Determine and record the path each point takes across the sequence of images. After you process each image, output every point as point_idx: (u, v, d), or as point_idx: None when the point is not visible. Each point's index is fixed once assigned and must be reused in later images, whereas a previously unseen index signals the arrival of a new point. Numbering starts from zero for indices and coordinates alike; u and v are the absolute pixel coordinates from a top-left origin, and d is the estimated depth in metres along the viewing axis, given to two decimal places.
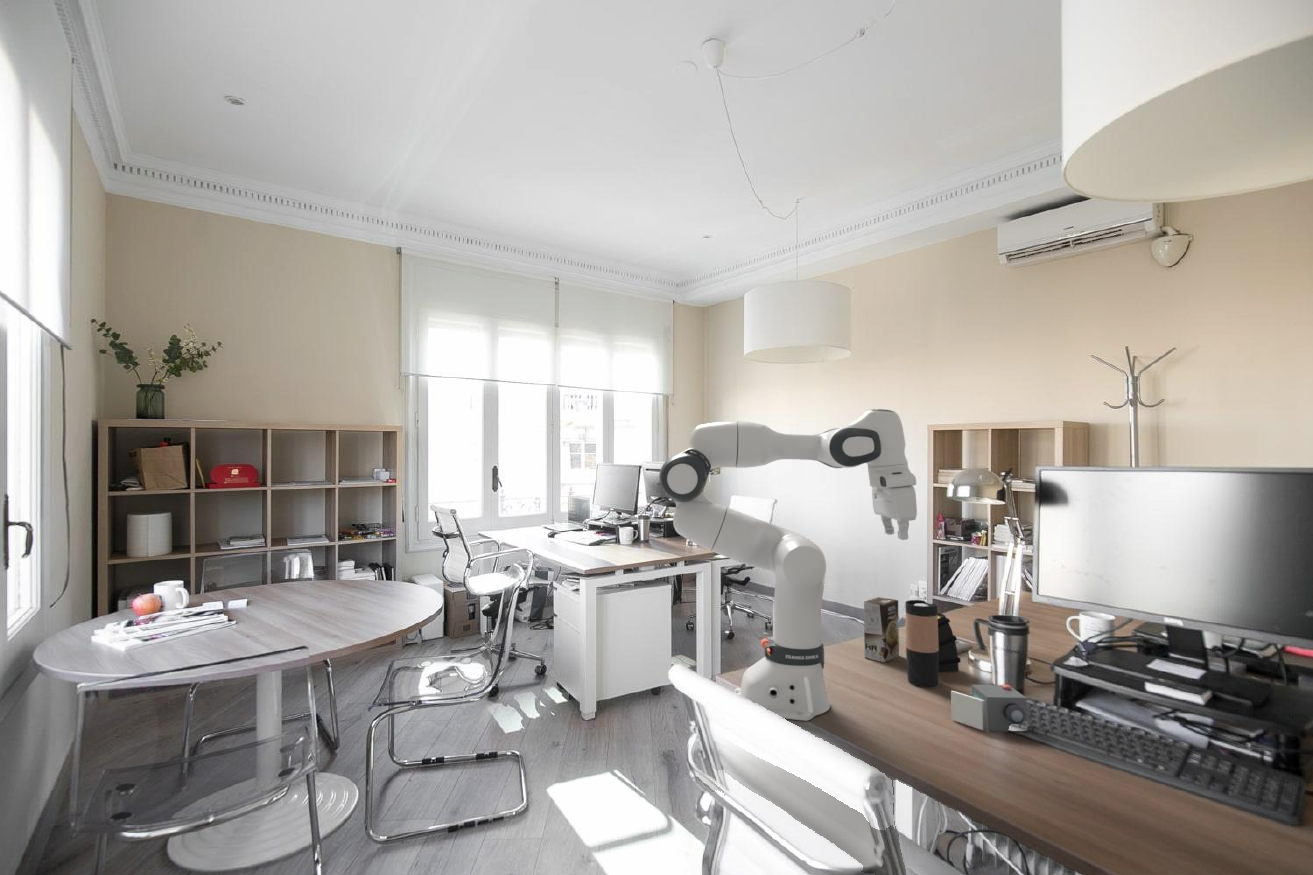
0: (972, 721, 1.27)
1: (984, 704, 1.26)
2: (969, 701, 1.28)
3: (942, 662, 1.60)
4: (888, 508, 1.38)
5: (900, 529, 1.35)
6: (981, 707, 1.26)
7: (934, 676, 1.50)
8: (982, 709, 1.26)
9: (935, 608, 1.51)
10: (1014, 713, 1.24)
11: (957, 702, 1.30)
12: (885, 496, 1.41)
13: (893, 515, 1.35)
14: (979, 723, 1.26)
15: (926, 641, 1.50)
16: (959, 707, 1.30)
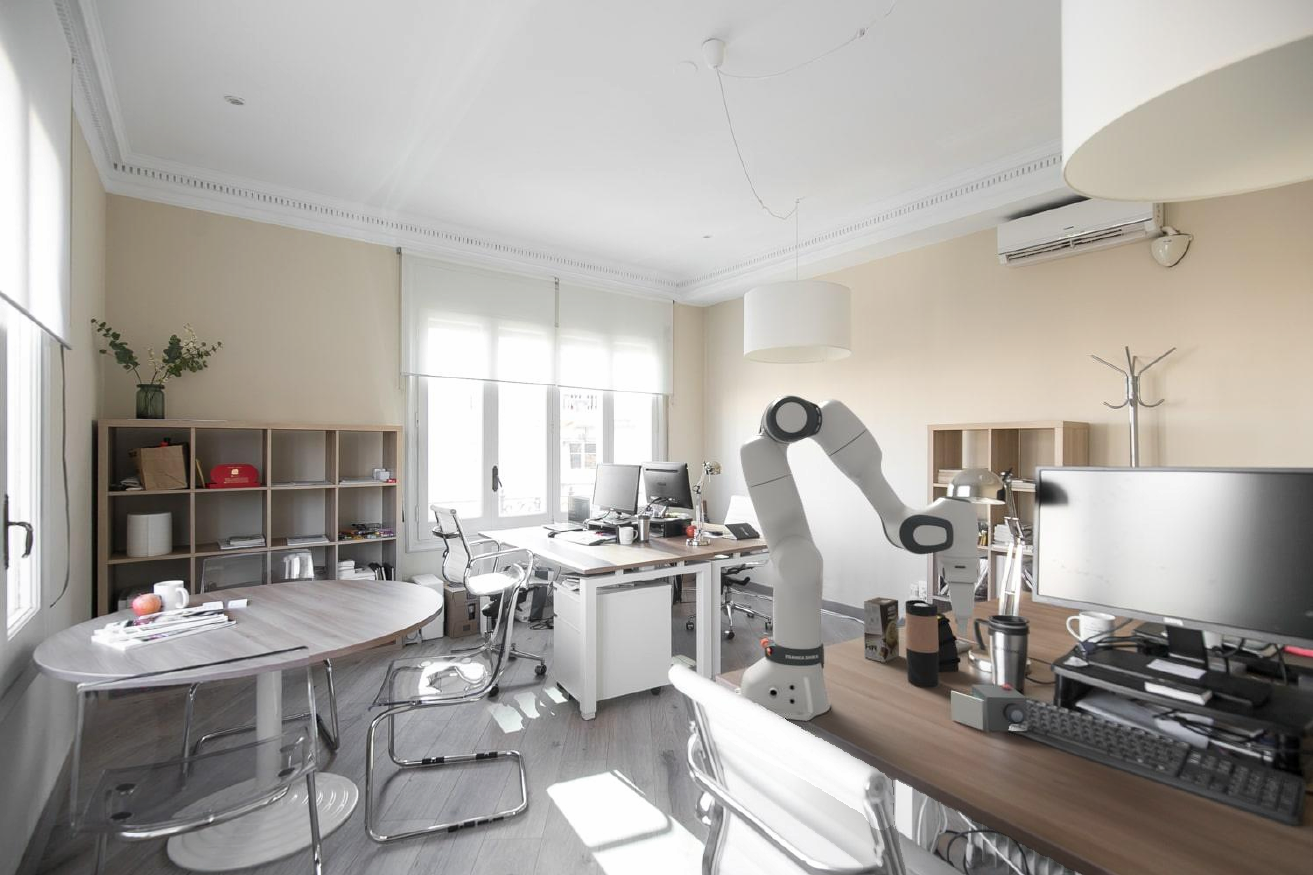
0: (972, 721, 1.27)
1: (984, 704, 1.26)
2: (969, 701, 1.28)
3: (942, 662, 1.60)
4: None
5: (958, 624, 1.32)
6: (981, 707, 1.26)
7: (934, 676, 1.50)
8: (982, 709, 1.26)
9: (935, 608, 1.51)
10: (1014, 713, 1.24)
11: (957, 702, 1.30)
12: None
13: None
14: (979, 723, 1.26)
15: (926, 641, 1.50)
16: (959, 707, 1.30)
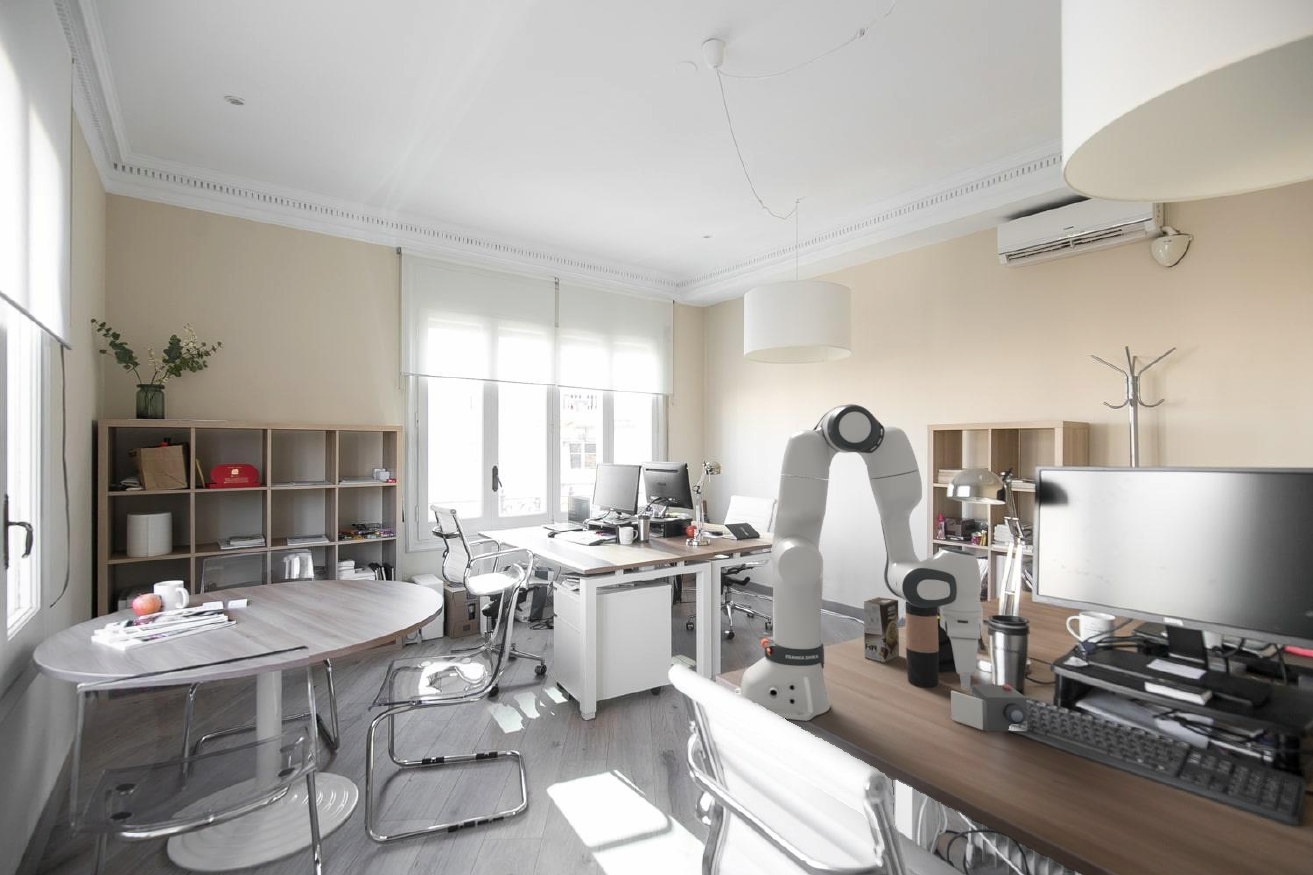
0: (972, 721, 1.27)
1: (984, 704, 1.26)
2: (969, 701, 1.28)
3: (942, 662, 1.60)
4: None
5: (961, 679, 1.32)
6: (981, 707, 1.26)
7: (934, 676, 1.50)
8: (982, 709, 1.26)
9: (935, 608, 1.51)
10: (1014, 713, 1.24)
11: (957, 702, 1.30)
12: None
13: None
14: (979, 723, 1.26)
15: (926, 641, 1.50)
16: (959, 707, 1.30)
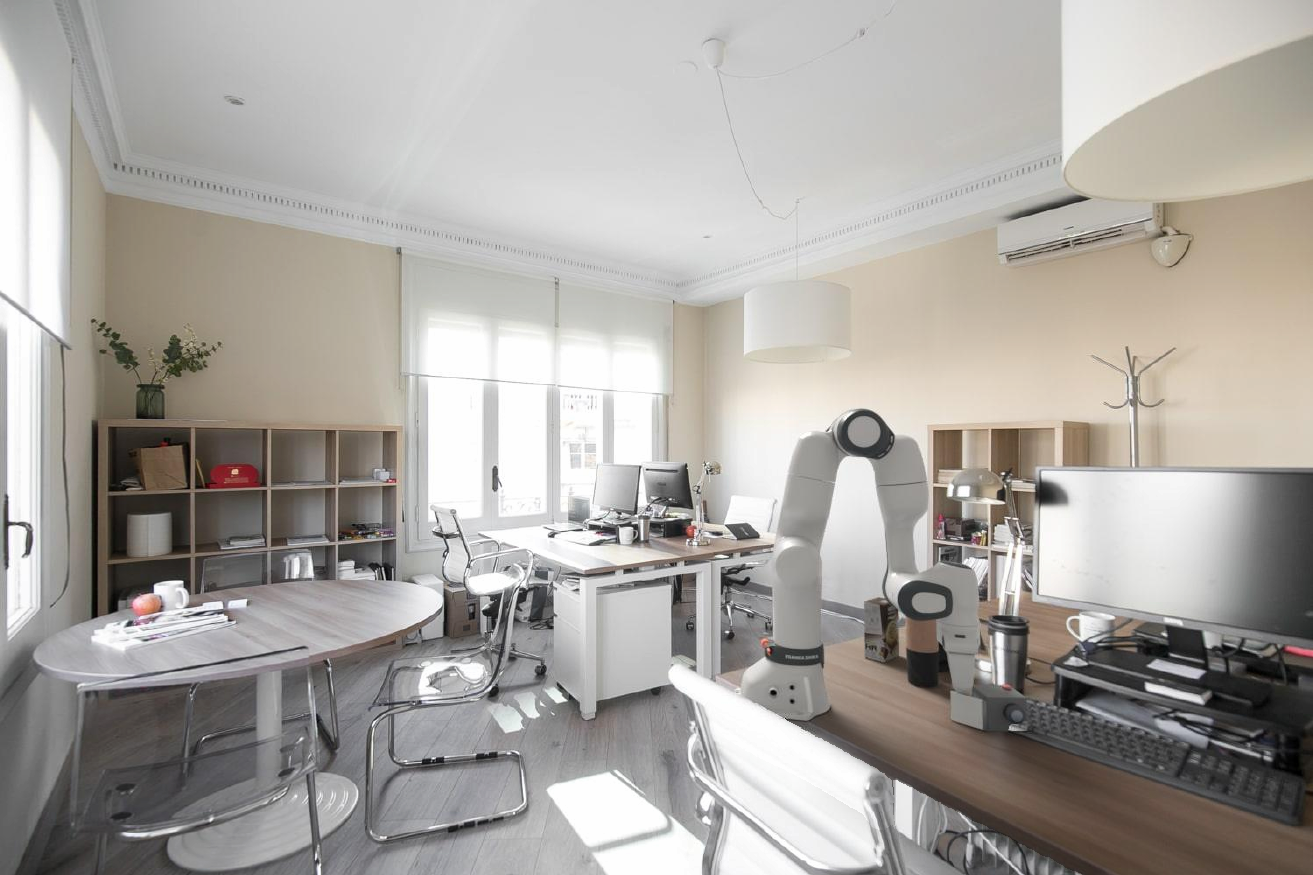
0: (972, 721, 1.27)
1: (984, 704, 1.26)
2: (969, 702, 1.28)
3: (942, 662, 1.60)
4: None
5: None
6: (981, 707, 1.26)
7: (934, 676, 1.50)
8: (982, 709, 1.26)
9: None
10: (1014, 713, 1.24)
11: (957, 702, 1.30)
12: None
13: None
14: (979, 723, 1.26)
15: (926, 641, 1.50)
16: (958, 708, 1.30)
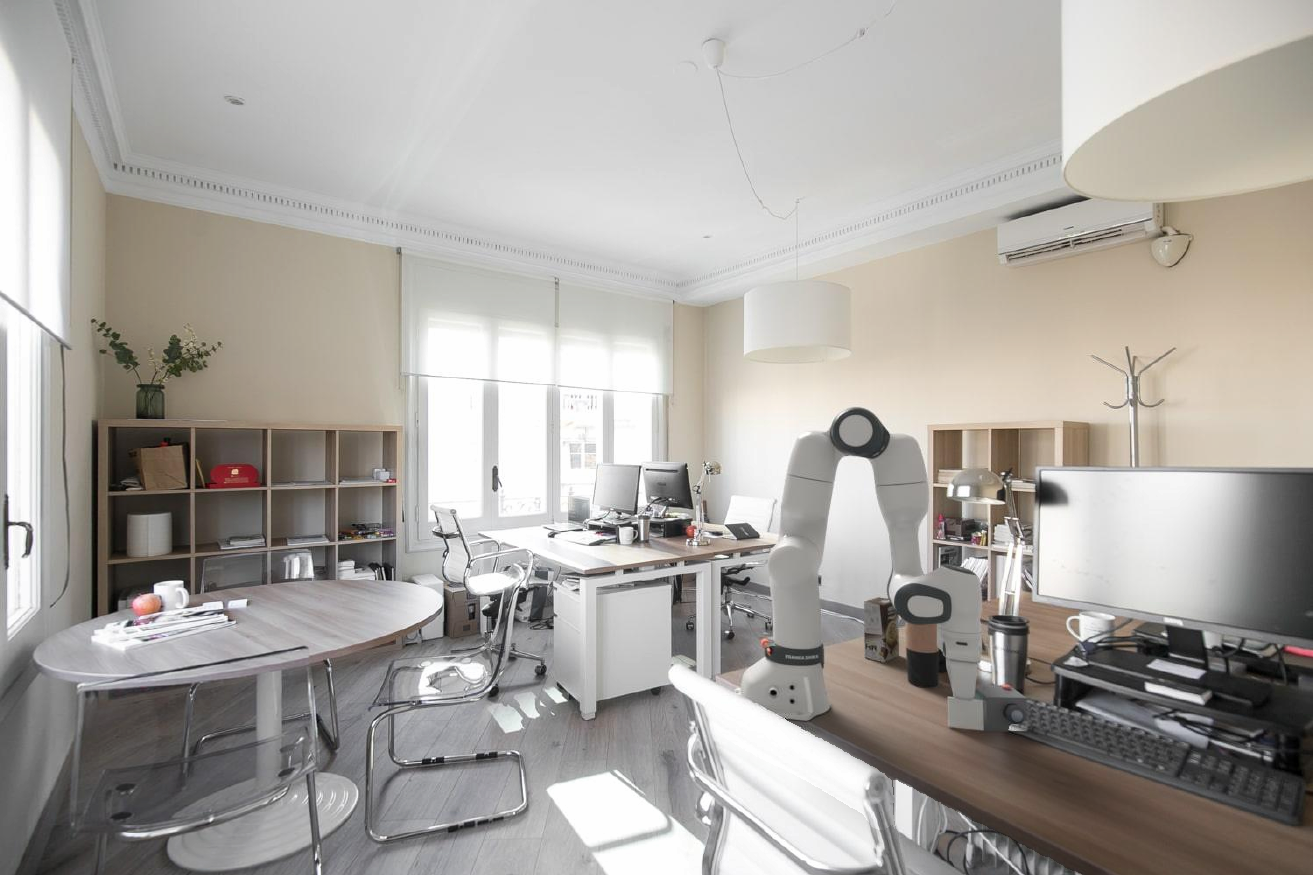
0: (972, 724, 1.26)
1: (985, 704, 1.26)
2: (969, 704, 1.26)
3: (942, 662, 1.60)
4: (950, 676, 1.29)
5: None
6: (982, 708, 1.26)
7: (934, 676, 1.50)
8: (982, 710, 1.26)
9: None
10: (1014, 713, 1.24)
11: (955, 707, 1.27)
12: None
13: None
14: (979, 725, 1.26)
15: (926, 641, 1.50)
16: (957, 712, 1.27)
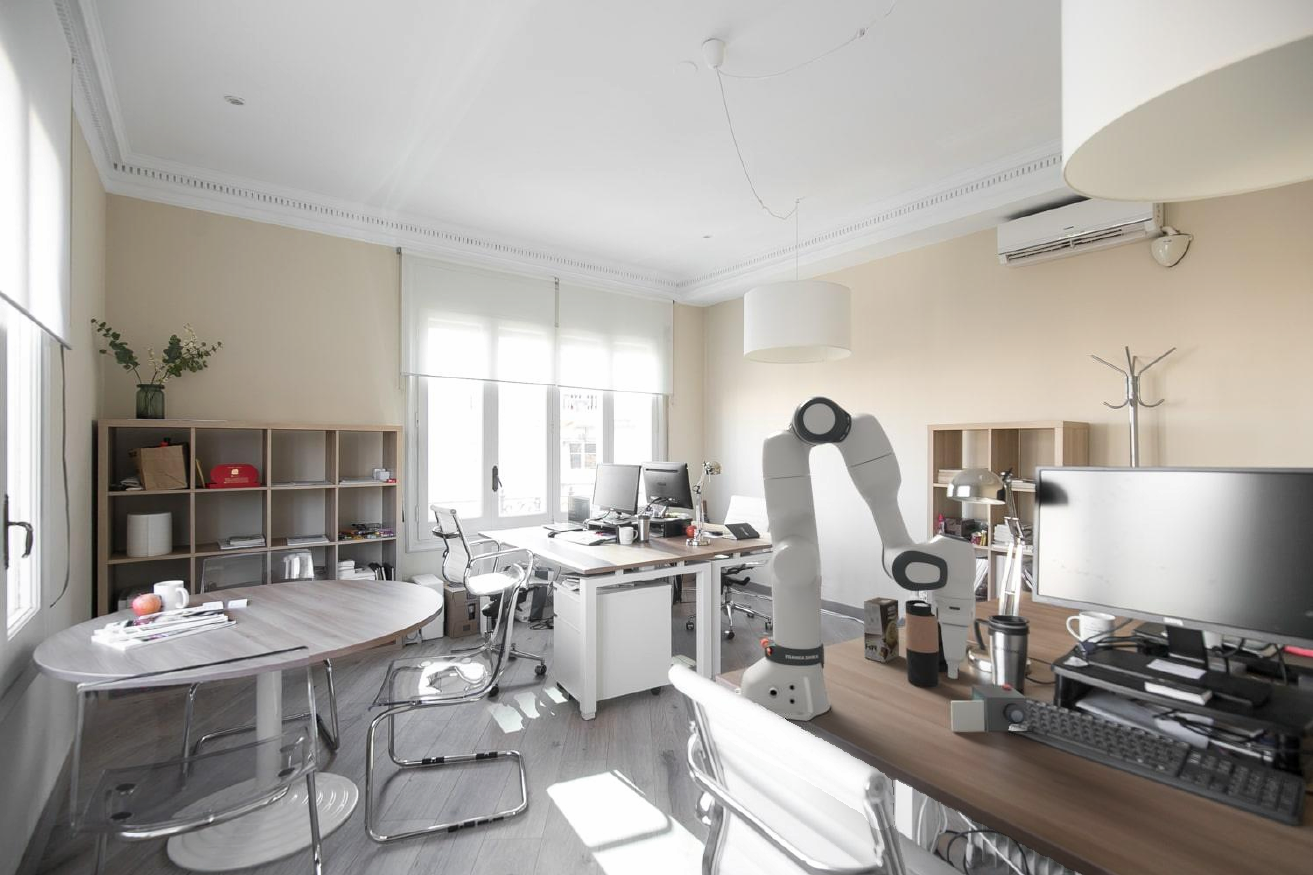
0: (974, 725, 1.25)
1: (986, 704, 1.26)
2: (971, 706, 1.25)
3: (942, 662, 1.60)
4: None
5: (949, 666, 1.29)
6: (983, 708, 1.26)
7: (934, 676, 1.50)
8: (982, 710, 1.26)
9: None
10: (1014, 713, 1.24)
11: (959, 711, 1.25)
12: None
13: None
14: (980, 725, 1.25)
15: (926, 641, 1.50)
16: (960, 716, 1.25)
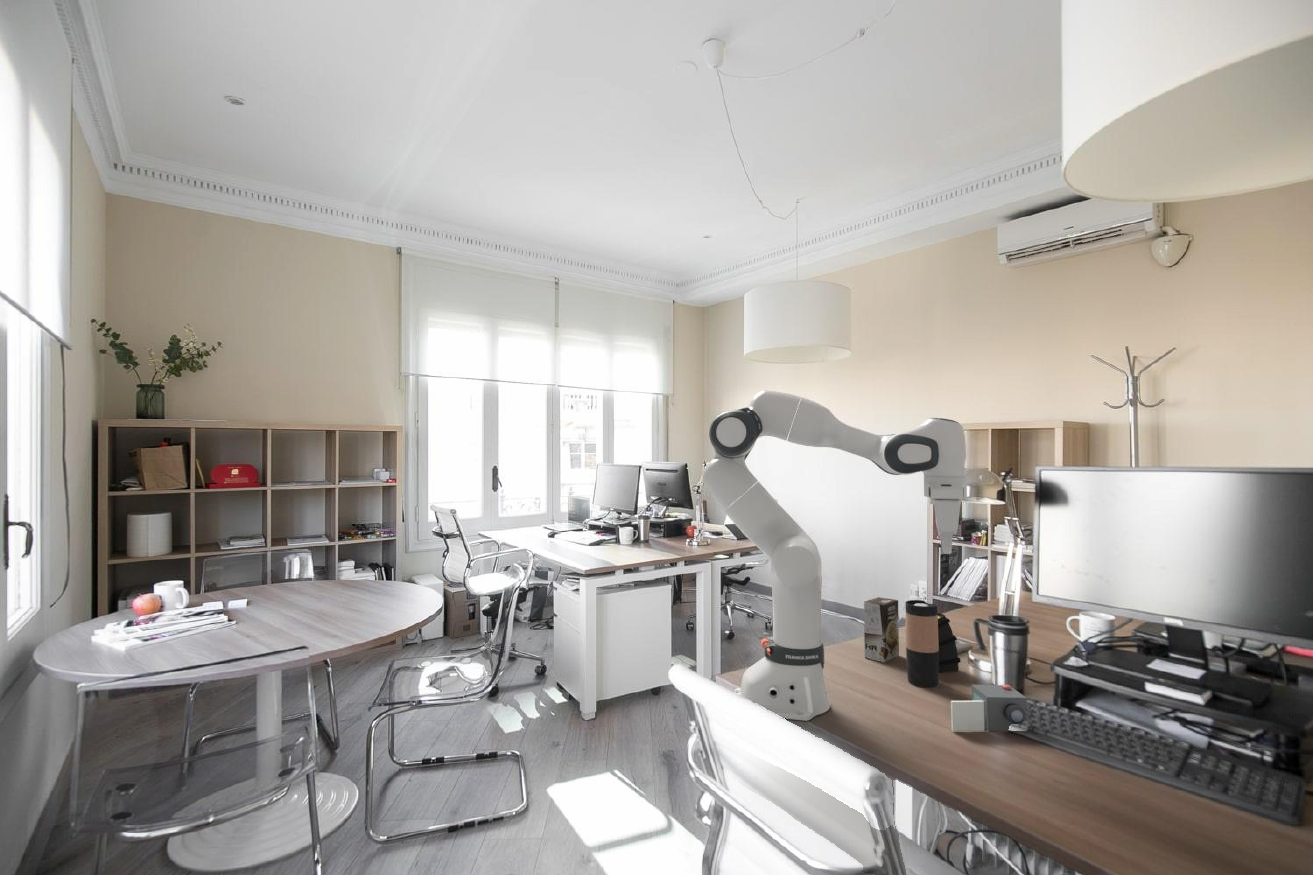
0: (974, 725, 1.25)
1: (986, 704, 1.26)
2: (971, 706, 1.25)
3: (942, 662, 1.60)
4: None
5: (943, 542, 1.32)
6: (983, 708, 1.26)
7: (934, 676, 1.50)
8: (982, 710, 1.26)
9: (935, 608, 1.51)
10: (1014, 713, 1.24)
11: (959, 711, 1.25)
12: None
13: None
14: (980, 725, 1.25)
15: (926, 641, 1.50)
16: (960, 716, 1.25)
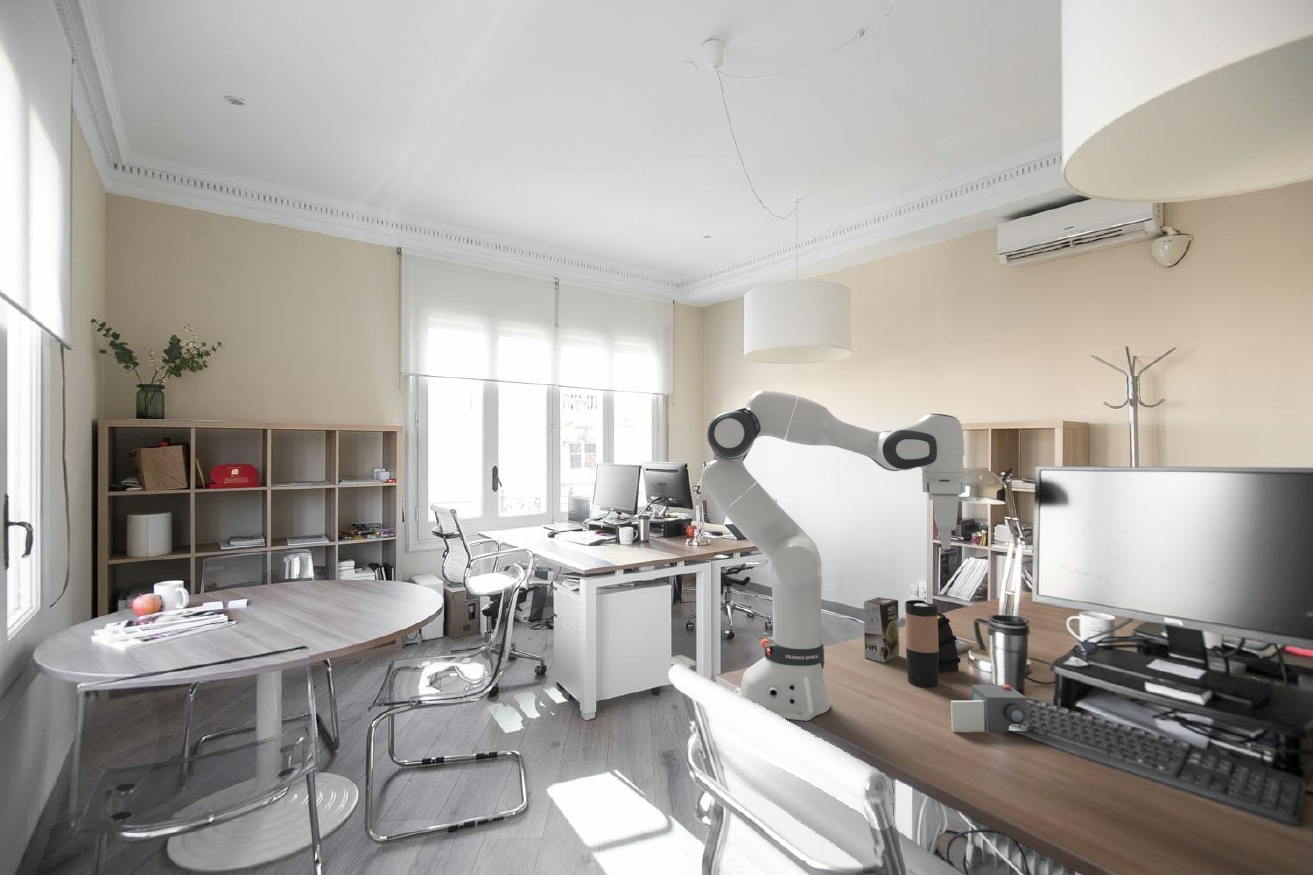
0: (974, 725, 1.25)
1: (986, 704, 1.26)
2: (971, 706, 1.25)
3: (942, 662, 1.60)
4: None
5: (942, 538, 1.32)
6: (983, 708, 1.26)
7: (934, 676, 1.50)
8: (982, 710, 1.26)
9: (935, 608, 1.51)
10: (1014, 713, 1.24)
11: (959, 711, 1.25)
12: None
13: None
14: (980, 725, 1.25)
15: (926, 641, 1.50)
16: (960, 716, 1.25)
